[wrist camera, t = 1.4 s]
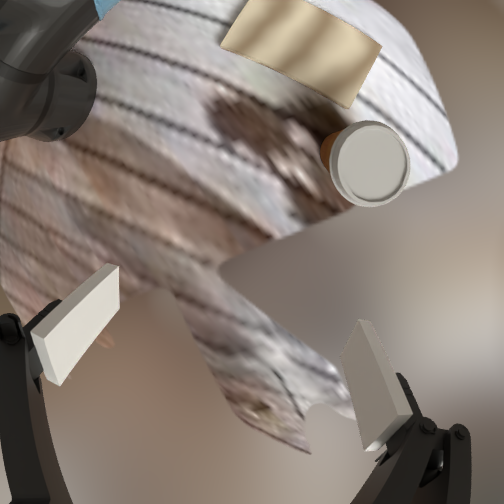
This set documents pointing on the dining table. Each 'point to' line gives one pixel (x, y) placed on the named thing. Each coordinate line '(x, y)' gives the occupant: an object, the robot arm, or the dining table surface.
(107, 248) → the dining table surface
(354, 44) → the serving board
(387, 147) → the disposable coffee cup
